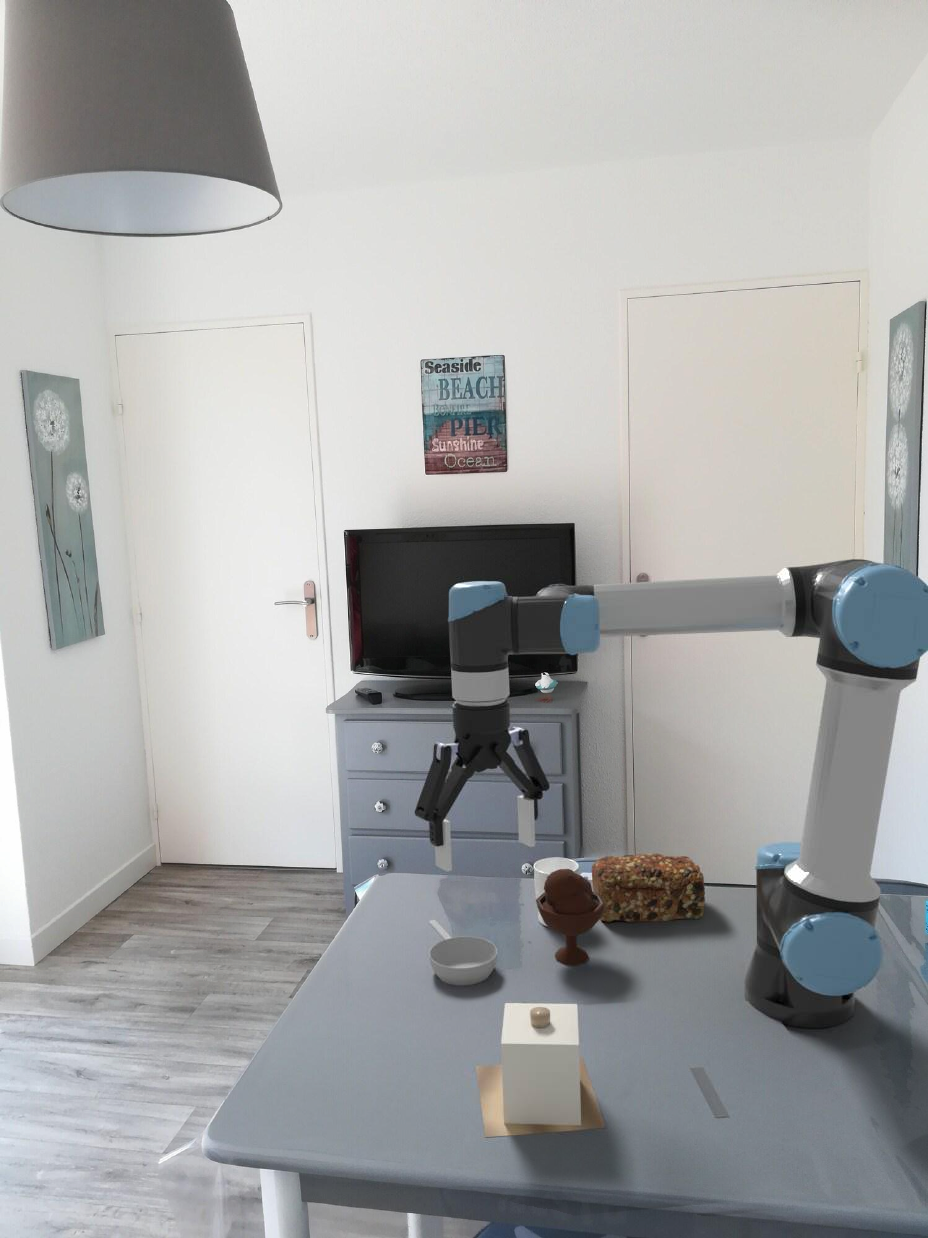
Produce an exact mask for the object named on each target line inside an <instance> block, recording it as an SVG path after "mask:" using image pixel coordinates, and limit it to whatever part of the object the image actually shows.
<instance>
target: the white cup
mask: <svg viewBox="0 0 928 1238" xmlns="http://www.w3.org/2000/svg"><path fill="white" fill-rule="evenodd" d="M532 868H533V875H534V890H535V891H534V892H535V900H536V899H537V898H538V897H540V896H541V895H542V894H543V893H544V892H545V890H544V884H545V881H546V880H547V876H549V875H550V874H551V873H552V872H554V871H557V870H559V869H570V870H572V871H573V872H574V873H576V874H578V875H579V874H580V873H579V872H580V871H579V870H580V869H579V868H580V867H579V863H578V862H577V861H576V860H573V859H571V858H567V857H566V858H565V857H555V856H554V857H546V858H543V859H539V860H537V861H535V862H534V864H533V867H532ZM537 916H538V919H537V920H538V922H540V924H541V925H543V926H546V927H548V926H547V925H546V924H545V923H544V921H543V919H542V917H541V914H540V912H539V910H538V909H537Z"/></svg>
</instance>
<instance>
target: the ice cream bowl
mask: <svg viewBox="0 0 928 1238" xmlns="http://www.w3.org/2000/svg"><path fill="white" fill-rule="evenodd" d="M544 890H545V892H544V893H543V894H542V895H541V896H540V897H538V898H537V899H536V898H535V902H536V907H537V911H538V910H539V912H540V914H541V917H542V919H543V921H544V923H545V924H546V925H547V926H546V927H548V928H549V929H550V930H552V931H554V932H556V933H558V934H560V935H563V936H564V937H565V945H564V946H562V947H560V948H558V950H557V951H556V952H555V954H554V958H555V960H556V962H559V963H561V964H562V965H564V966H565V965H568V966H578V965H583V964H584V963H585V964H586V962H587V961H588V960H589V959H590V957H589V954H588V952H587V950H586V949H584V948H583V947H580V946H578V940H577V938H578V936H580V935H584V934H586V933H588V932H590V930H591V929H592V928H593V927H594V926H595V925H596V924H597V923H598V921H601V920H600V918H601V916H602V914H603V912H604V907H605V902H604V900H603V899H602V897H601V895H600V894H597V893H595V892H593V886H592V882H590V881H589V880H588V879H586V878H585V877H584V876H582V875H581V874H579V873H578V874H576V873H574V872H573V871H572V870H570V869H559V870H557V871H554V872H552V873H551V874H550V875H549V876H547V880H546V881H545V884H544Z"/></svg>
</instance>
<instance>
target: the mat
mask: <svg viewBox="0 0 928 1238" xmlns="http://www.w3.org/2000/svg"><path fill="white" fill-rule="evenodd" d="M689 1070H690V1072H691V1074H692V1076H693V1078H694V1080H695V1082H696V1083H697V1086H698V1088H699V1089H700V1091H701V1094H702V1095H703V1097H704V1099H705V1102H706V1103H707V1106H708V1107H709V1110H710V1111H711V1113H712V1115H713V1116H714V1119H718V1118H719V1119H720V1118H730V1115H729V1113H728V1111H727V1108H726V1107H725V1105H724V1104H723V1102H722V1100H721V1098H720V1096H719V1095H718V1093H717V1090H716V1089H715V1087H714V1086H713V1083H712V1082H711V1079H710V1078H709V1076H708V1074H707V1072H706V1071H705V1069H704V1067H703V1066H699V1067H689Z"/></svg>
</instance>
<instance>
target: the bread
mask: <svg viewBox="0 0 928 1238" xmlns="http://www.w3.org/2000/svg"><path fill="white" fill-rule="evenodd" d="M591 877H592V878H591V880H592V881H591V886H592V891H593V892H595V893H597V894H600V895H601V897H602V899H603V900H604V902H605V907H604V912H603V914H602V916H601V918H600V920H599V921H601V922H602V921H603V922H607V923H611V922H612V921H621V922H628V923H629V922H630V923H631V922H636V923H638V922H670V921H673V920H679V919H680V920H681V919H682V920H685V919H695V920H697V919H700V918H701V917H703V916H704V908H705V906H706V905H705V902H706V900H705V899H706V897H705V894H706V891H705V888H706V887H705V879H704V873H703V872H701V869H700V866H699V865H697V864H695V862H693V860H692V859H691V858H690V857H688V856H684V855H683V856H680V855H679V856H678V855H677V856H676V855H664V854H660V853H638V854H625V855H623V856H614V855H606V856H605V857H601V858H599V859H597V860H595V862H593V864H592V866H591Z"/></svg>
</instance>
